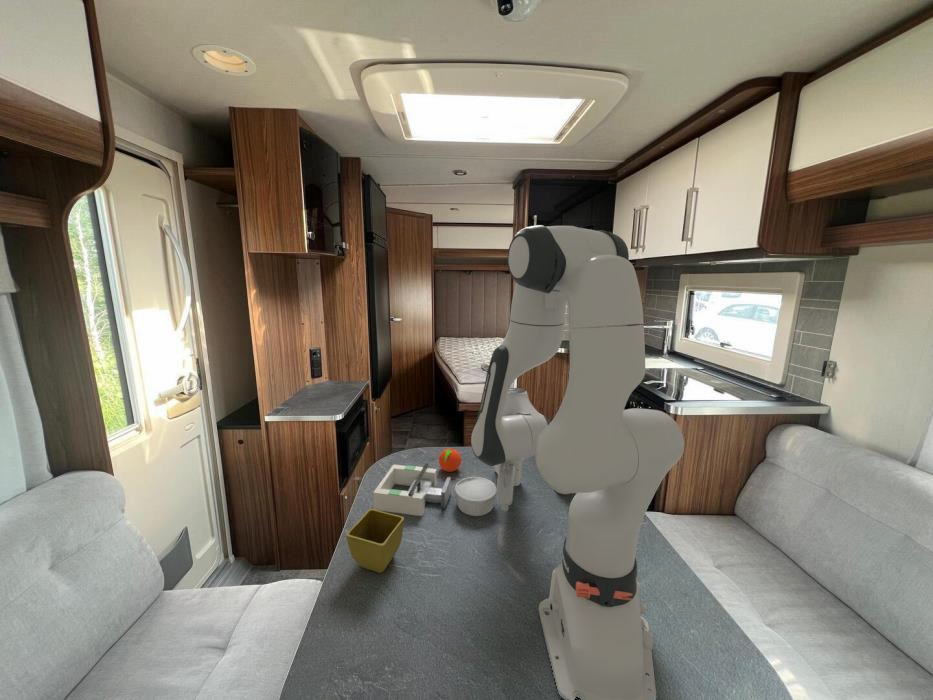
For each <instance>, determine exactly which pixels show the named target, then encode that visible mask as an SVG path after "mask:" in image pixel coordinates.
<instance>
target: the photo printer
mask: <svg viewBox="0 0 933 700" xmlns="http://www.w3.org/2000/svg"><path fill="white" fill-rule="evenodd" d="M523 463H524V461H522V462H520V464H519V465H518V466H516V467H515V475H514V487H518V486H520V484H521V483H522V477H523ZM498 471H499V465H495V466H494V472H496V474H497V475H498Z"/></svg>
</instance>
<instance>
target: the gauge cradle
mask: <svg viewBox="0 0 933 700" xmlns="http://www.w3.org/2000/svg"><path fill="white" fill-rule="evenodd" d="M423 467H424V466H416V465H415V466H414V465H408V464H407V465H402V464H392V465H391V467H390V468H389V470H387V473H386V474H385V476H384V477H383V478H382V480H381V481H380V483H379V484H378V485H377V487H376V488H375V490H373V493H372V494H373V495H372V496H373V509H375V510H378V511H382V512H386V513H394V514H395V513H396V514H403V515H411V516H418V517H423V515H424V513H425V511H426V509H425V506H426V504H425V499H424V494H421V493H415V492H413V494H412V496H408V494H409V492H410V491H408V490H402V489H401V490H400V489H393V487H394V486H395V485H400V486H401V485H402V486H409V487H411V485H412V483H413V481H414V480H415V479H417V478H418V476H419V474H420V472H421V470H422V469H423ZM421 480H430V481H432V488H437V483H438V481H437V480H438V479H437V469H436V468H428V467H427V468H426V470H425V472H424V474H423V476H422V478H421Z"/></svg>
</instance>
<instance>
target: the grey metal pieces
mask: <svg viewBox="0 0 933 700" xmlns="http://www.w3.org/2000/svg"><path fill="white" fill-rule="evenodd" d="M422 467H423V469H422V470H421V472H420V474H419V476H418V478H417V479H415V480H414V481H413V483H412V485H411V486H409V488H408V490H407V491H410V492H409V494H408V496H412V494H413V492H415V493H421V494H424V499H425V505H426V504H427V503H435V504H440V509H443V510H445V509H446V506H447V505H448V502H449V499H450V496H451V494H452V493H451V492H452V488H451V487H452V478H451V476H448V477H446V479H445V482H444V483H443V487H442V488H439V487H435V488H432V481H430V480H421V478H422V476H423V474H424V472H425V470H426V468H428V467H429V463H428V462H427V463H424V465H423V466H422Z"/></svg>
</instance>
